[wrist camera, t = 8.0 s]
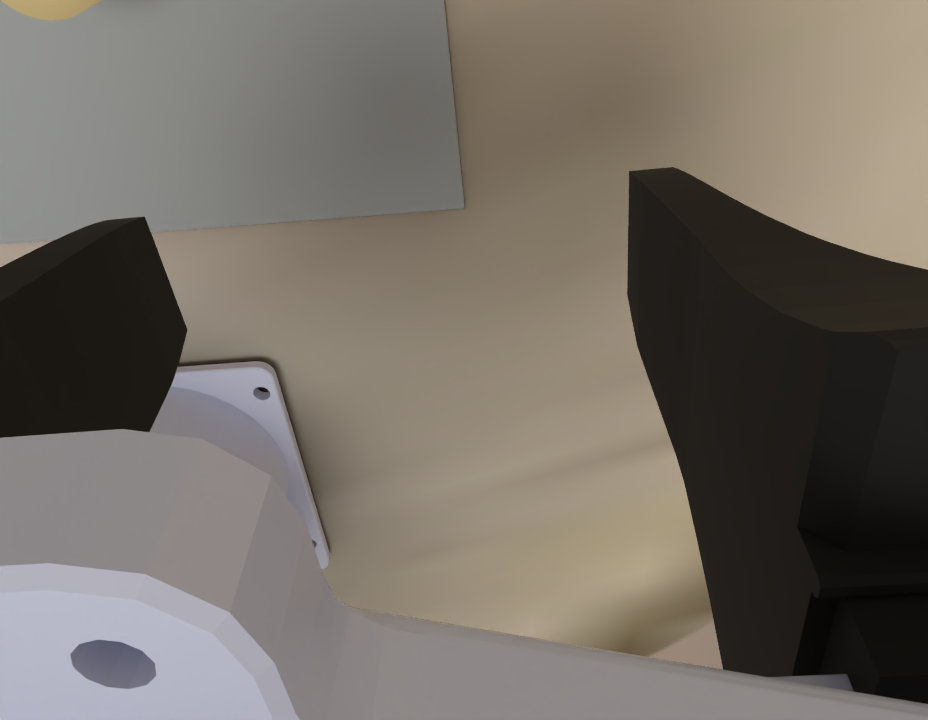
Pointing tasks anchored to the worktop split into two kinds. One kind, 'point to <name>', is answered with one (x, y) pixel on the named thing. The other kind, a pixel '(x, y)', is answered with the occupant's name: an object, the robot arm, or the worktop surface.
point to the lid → (222, 113)
